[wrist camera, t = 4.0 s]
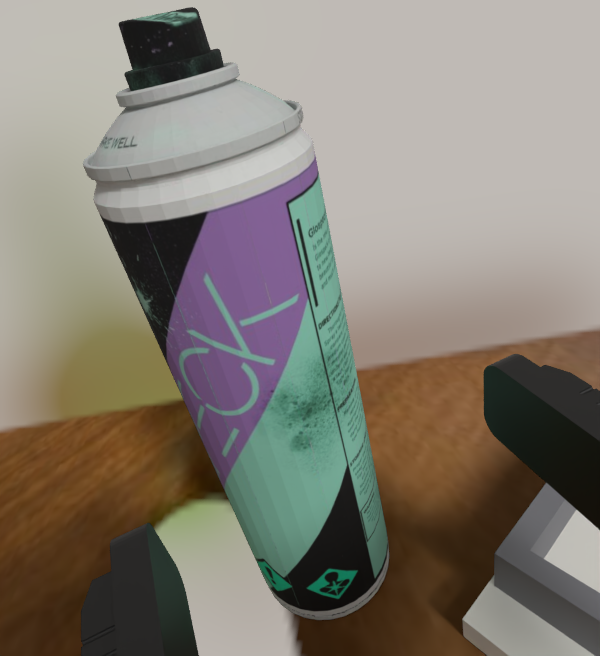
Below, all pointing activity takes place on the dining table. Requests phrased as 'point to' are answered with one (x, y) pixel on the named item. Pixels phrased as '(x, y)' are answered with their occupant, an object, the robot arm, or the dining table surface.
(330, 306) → the spray can
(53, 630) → the dining table surface
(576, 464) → the robot arm
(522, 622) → the board
